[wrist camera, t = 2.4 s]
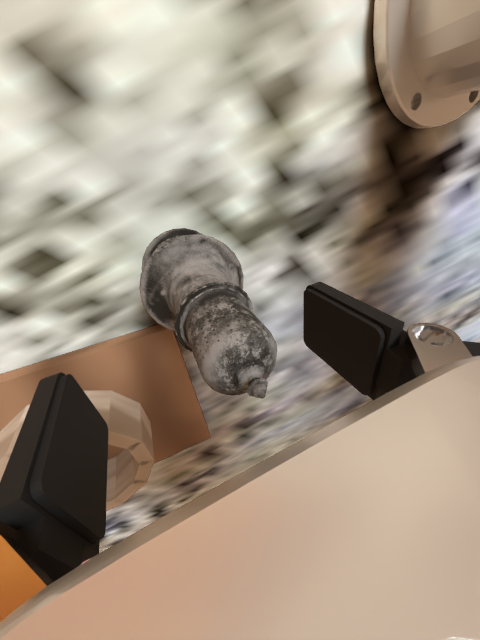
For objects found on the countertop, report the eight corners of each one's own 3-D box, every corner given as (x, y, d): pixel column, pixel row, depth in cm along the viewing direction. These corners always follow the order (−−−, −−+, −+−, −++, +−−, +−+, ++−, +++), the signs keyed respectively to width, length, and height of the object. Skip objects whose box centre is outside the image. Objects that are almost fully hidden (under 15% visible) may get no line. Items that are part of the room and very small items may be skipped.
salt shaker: (239, 255, 18) (374, 350, 8) (195, 319, 19) (269, 468, 9) (167, 202, 14) (252, 258, 5) (119, 284, 16) (112, 460, 6)
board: (169, 320, 18) (180, 356, 14) (208, 429, 26) (221, 470, 22) (-150, 422, 14) (-248, 510, 10) (12, 516, 21) (-10, 585, 18)
